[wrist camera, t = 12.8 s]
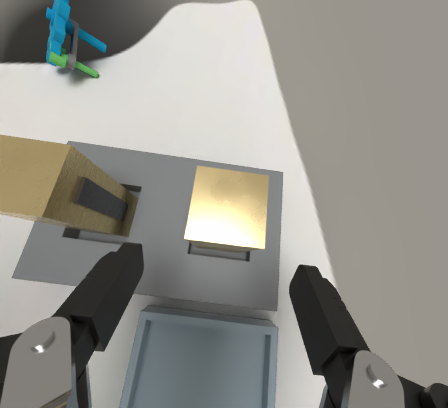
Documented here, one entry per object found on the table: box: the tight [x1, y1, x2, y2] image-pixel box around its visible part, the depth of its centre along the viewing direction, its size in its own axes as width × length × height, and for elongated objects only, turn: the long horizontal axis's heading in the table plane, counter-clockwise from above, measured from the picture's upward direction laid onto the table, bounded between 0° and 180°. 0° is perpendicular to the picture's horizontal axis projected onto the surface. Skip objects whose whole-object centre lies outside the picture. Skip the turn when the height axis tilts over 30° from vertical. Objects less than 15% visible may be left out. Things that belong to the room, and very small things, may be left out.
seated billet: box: [0, 135, 139, 237], centre depth 14 cm, size 4×4×10 cm
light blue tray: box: [119, 305, 278, 408], centre depth 16 cm, size 12×12×2 cm
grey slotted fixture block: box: [12, 141, 283, 311], centre depth 19 cm, size 22×13×3 cm, turn 83°
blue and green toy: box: [46, 0, 107, 78], centre depth 24 cm, size 11×6×10 cm
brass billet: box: [184, 166, 269, 253], centre depth 15 cm, size 4×4×10 cm
